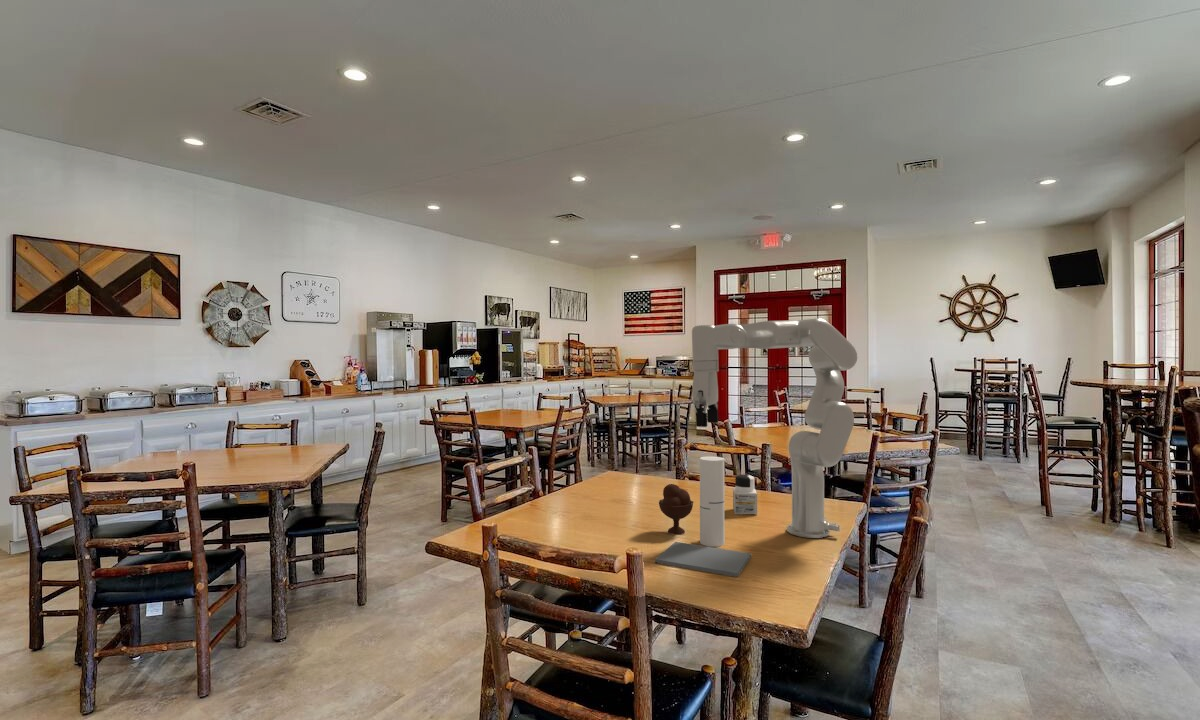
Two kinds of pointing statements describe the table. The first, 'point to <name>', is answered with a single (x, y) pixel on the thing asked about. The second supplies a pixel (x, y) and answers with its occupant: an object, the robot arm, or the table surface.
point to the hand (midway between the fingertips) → (707, 424)
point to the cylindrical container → (712, 501)
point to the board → (704, 558)
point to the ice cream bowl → (675, 506)
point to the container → (744, 495)
